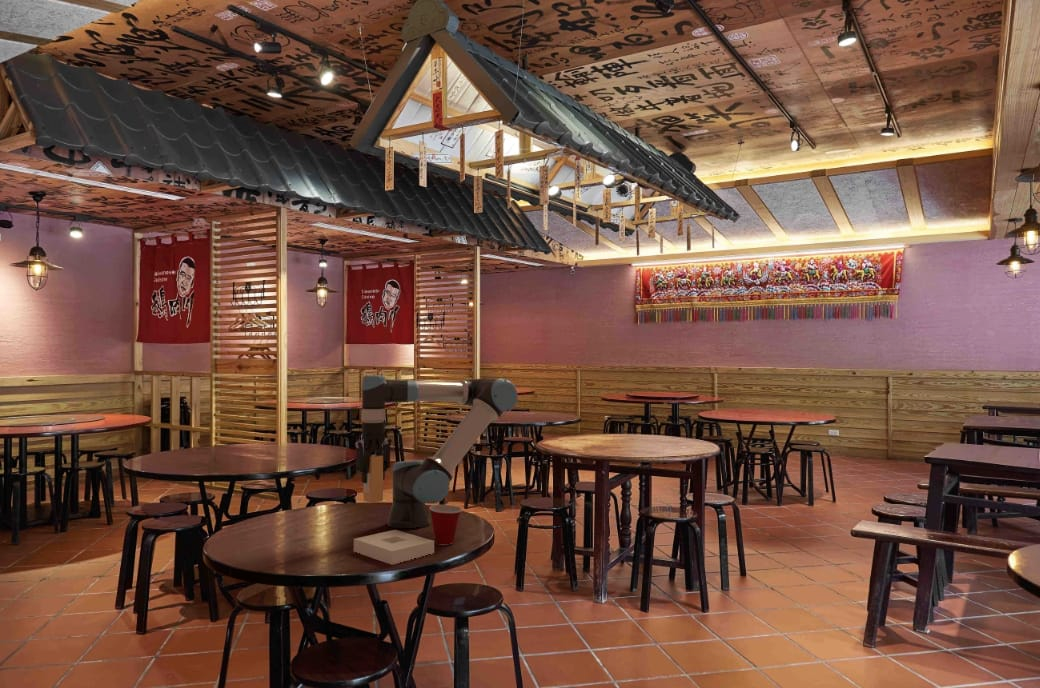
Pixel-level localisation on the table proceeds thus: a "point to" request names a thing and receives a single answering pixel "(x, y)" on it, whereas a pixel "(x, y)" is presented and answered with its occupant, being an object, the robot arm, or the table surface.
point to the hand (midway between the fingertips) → (373, 491)
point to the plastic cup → (445, 522)
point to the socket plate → (393, 546)
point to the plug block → (375, 480)
